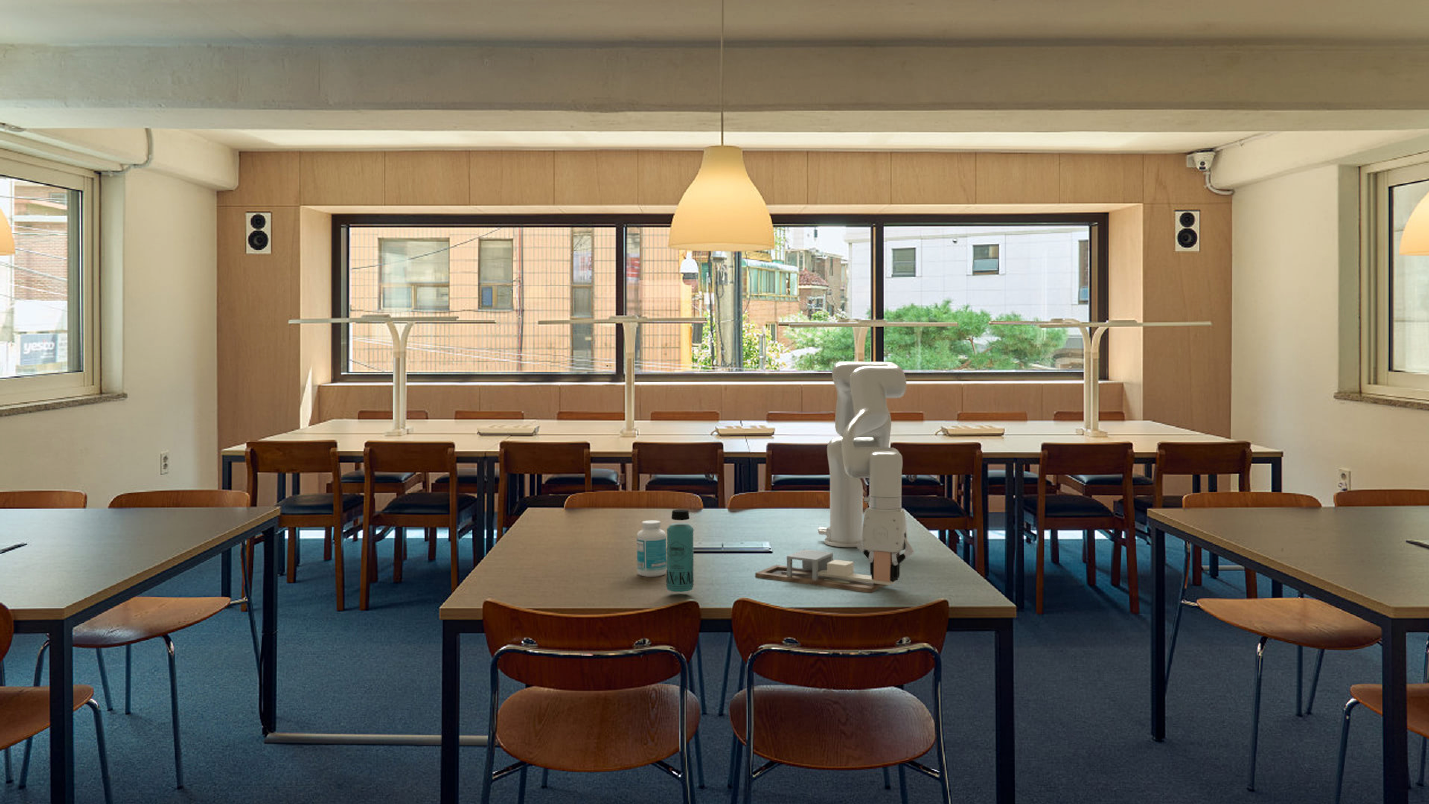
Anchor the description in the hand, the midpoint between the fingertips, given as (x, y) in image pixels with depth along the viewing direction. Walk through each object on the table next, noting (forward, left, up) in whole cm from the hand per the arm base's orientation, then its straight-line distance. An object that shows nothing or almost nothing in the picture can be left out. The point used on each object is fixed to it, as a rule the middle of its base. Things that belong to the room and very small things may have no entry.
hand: (884, 578), depth 234 cm
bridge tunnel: (-20, 0, -1) cm, 20 cm away
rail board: (-17, 0, -2) cm, 17 cm away
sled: (-7, 0, -1) cm, 8 cm away
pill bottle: (-56, -17, -3) cm, 59 cm away
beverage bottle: (-38, -31, -3) cm, 49 cm away
